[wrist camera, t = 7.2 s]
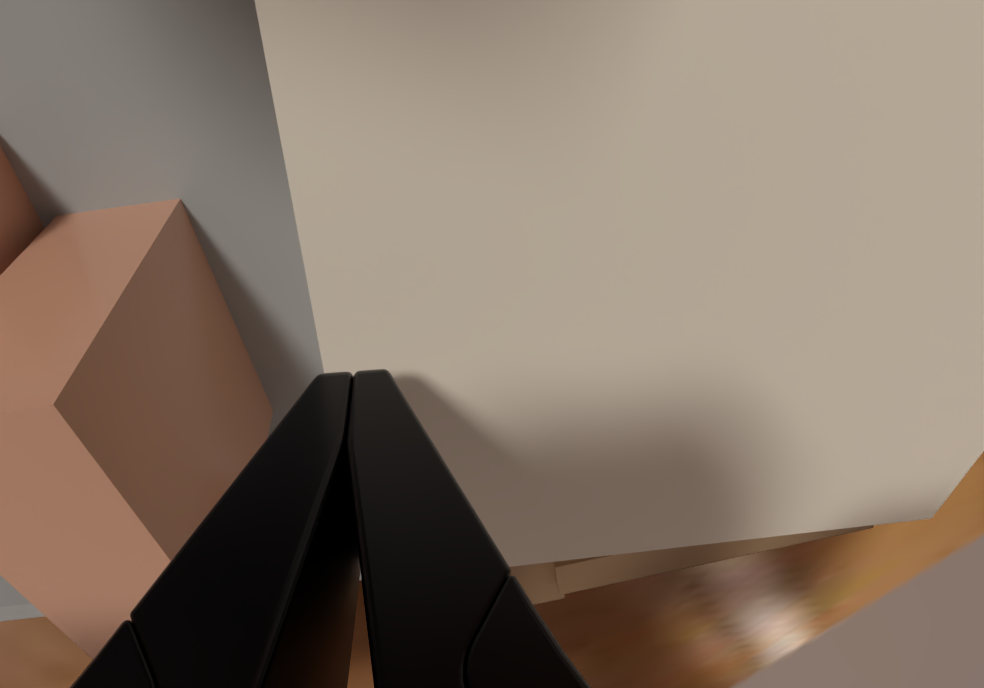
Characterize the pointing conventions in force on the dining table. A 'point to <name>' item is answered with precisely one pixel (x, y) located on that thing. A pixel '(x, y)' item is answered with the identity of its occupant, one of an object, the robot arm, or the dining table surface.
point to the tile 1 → (14, 216)
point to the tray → (164, 154)
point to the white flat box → (651, 252)
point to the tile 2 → (115, 410)
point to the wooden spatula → (643, 564)
